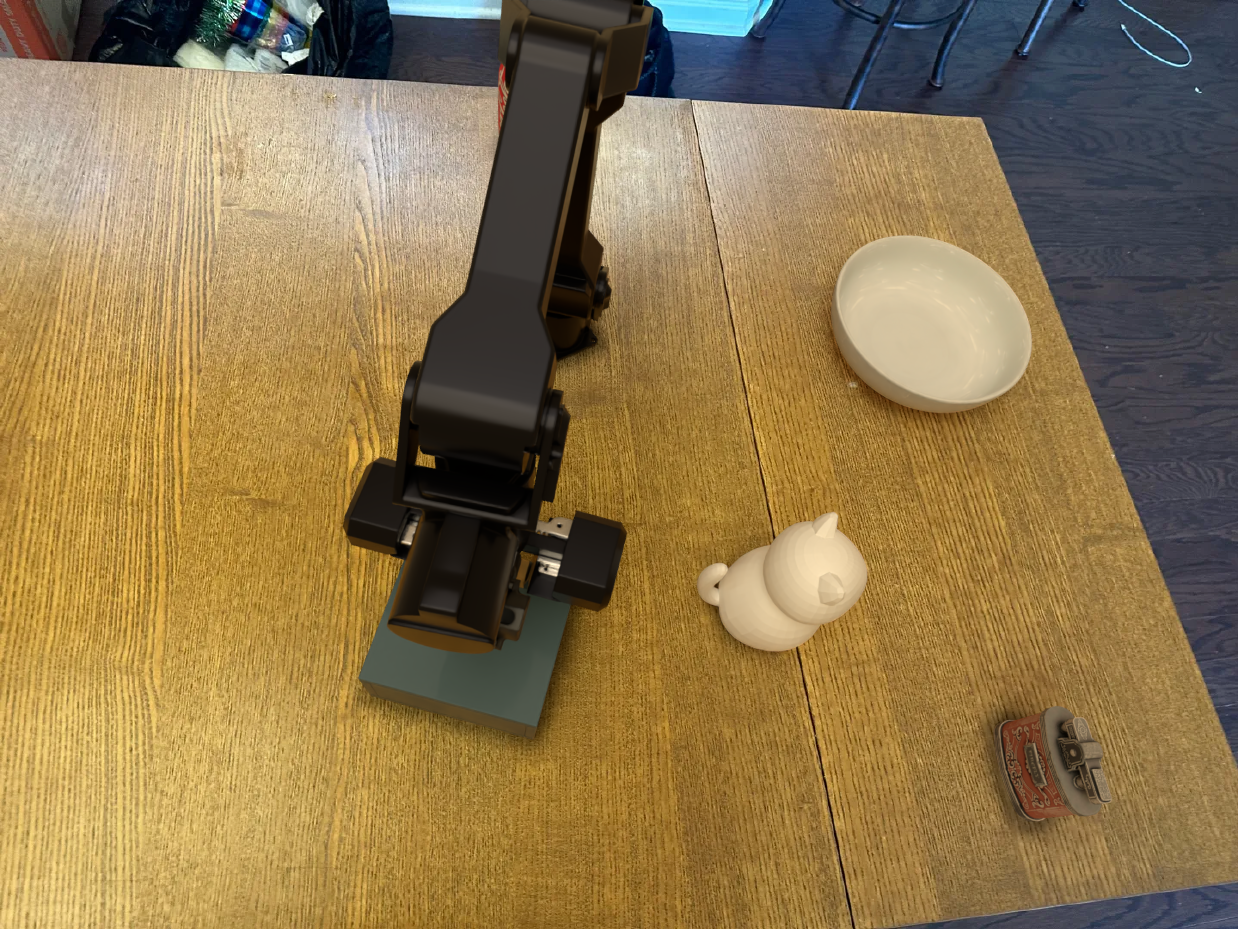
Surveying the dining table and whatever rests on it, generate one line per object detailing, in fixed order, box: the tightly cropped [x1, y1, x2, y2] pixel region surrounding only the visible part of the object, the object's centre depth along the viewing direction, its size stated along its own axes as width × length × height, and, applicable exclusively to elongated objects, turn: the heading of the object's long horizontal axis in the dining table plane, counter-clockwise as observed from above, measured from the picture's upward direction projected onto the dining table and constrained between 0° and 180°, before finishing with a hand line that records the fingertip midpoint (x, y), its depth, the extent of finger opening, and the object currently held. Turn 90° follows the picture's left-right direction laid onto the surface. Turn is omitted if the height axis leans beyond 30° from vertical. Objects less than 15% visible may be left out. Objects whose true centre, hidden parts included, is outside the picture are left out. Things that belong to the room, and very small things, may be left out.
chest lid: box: [357, 558, 572, 729], centre depth 61 cm, size 12×14×5 cm
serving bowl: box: [830, 234, 1033, 414], centre depth 85 cm, size 21×21×7 cm
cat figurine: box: [696, 511, 868, 652], centre depth 66 cm, size 9×12×15 cm
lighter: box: [993, 705, 1113, 823], centre depth 65 cm, size 8×3×10 cm, turn 5°
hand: (489, 572), depth 64 cm, fingers closed on chest lid, 6 cm apart
